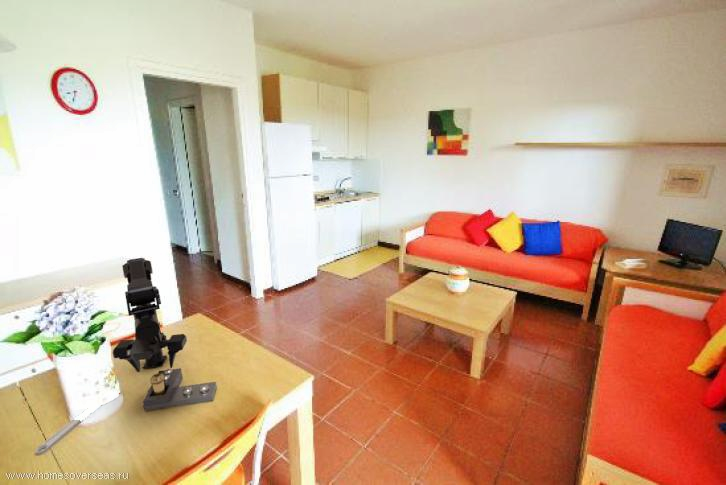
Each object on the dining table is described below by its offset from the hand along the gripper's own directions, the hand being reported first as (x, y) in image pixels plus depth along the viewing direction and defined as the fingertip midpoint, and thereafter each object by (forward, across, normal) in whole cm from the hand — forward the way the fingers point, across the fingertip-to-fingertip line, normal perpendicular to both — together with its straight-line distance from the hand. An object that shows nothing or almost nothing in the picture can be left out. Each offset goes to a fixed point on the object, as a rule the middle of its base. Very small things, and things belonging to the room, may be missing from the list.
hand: (155, 369), depth 107 cm
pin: (+12, 0, 0) cm, 12 cm away
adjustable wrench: (+12, -22, -2) cm, 25 cm away
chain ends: (+12, +6, +4) cm, 14 cm away
